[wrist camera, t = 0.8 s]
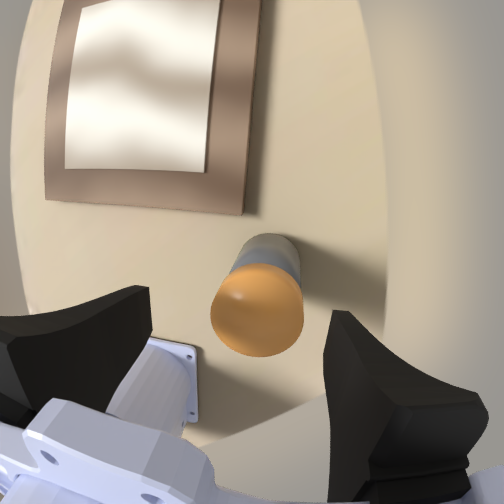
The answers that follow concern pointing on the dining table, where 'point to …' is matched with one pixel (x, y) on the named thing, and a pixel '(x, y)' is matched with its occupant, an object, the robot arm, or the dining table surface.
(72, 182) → the board
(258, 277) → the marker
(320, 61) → the dining table surface
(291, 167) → the dining table surface
